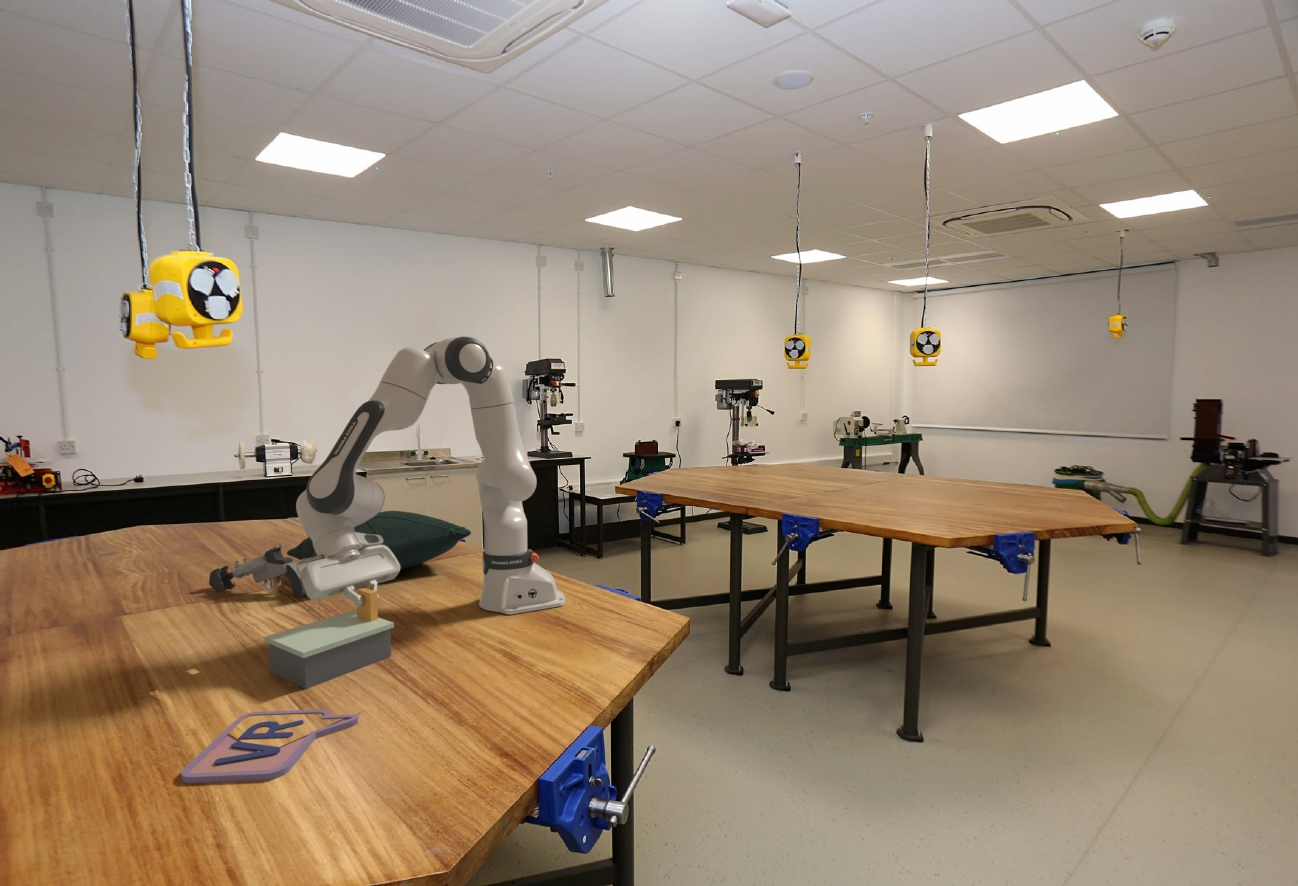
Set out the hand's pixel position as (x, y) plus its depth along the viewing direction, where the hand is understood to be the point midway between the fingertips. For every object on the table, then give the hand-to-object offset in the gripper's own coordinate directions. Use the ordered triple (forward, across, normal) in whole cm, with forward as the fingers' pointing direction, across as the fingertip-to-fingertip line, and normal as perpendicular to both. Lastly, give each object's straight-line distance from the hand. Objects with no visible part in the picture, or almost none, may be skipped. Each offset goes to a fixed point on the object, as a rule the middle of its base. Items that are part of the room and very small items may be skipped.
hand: (368, 603), depth 137 cm
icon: (+22, -29, -5) cm, 37 cm away
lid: (+4, -8, +5) cm, 10 cm away
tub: (+8, -8, +8) cm, 14 cm away
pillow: (-33, +41, +50) cm, 73 cm away
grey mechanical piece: (-37, +8, +54) cm, 66 cm away
